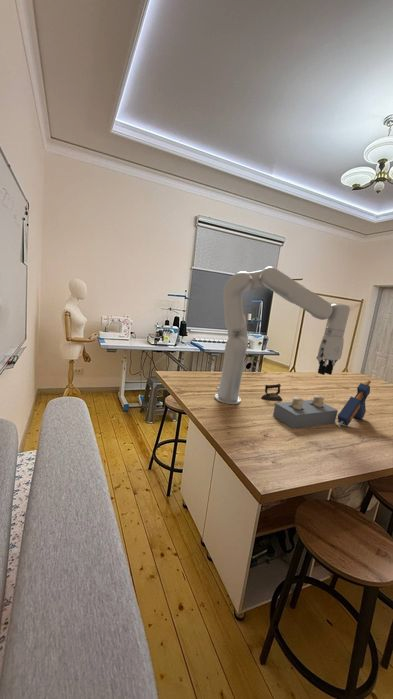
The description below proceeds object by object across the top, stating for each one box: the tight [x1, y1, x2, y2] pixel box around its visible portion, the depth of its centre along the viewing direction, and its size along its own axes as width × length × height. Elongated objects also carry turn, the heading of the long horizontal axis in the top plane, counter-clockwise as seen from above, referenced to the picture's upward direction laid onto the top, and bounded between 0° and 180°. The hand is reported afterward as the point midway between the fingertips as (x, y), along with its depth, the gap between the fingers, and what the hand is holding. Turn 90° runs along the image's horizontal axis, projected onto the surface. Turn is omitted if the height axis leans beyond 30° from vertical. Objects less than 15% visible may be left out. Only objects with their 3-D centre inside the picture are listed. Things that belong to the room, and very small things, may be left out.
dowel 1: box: [291, 396, 305, 411], centre depth 123 cm, size 4×4×5 cm
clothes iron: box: [260, 383, 283, 402], centre depth 148 cm, size 7×11×10 cm, turn 117°
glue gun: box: [337, 379, 372, 428], centre depth 133 cm, size 6×31×15 cm
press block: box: [272, 399, 339, 430], centre depth 127 cm, size 12×26×6 cm, turn 118°
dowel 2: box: [312, 394, 325, 408], centre depth 129 cm, size 4×4×5 cm
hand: (324, 373), depth 127 cm, fingers open, 3 cm apart
